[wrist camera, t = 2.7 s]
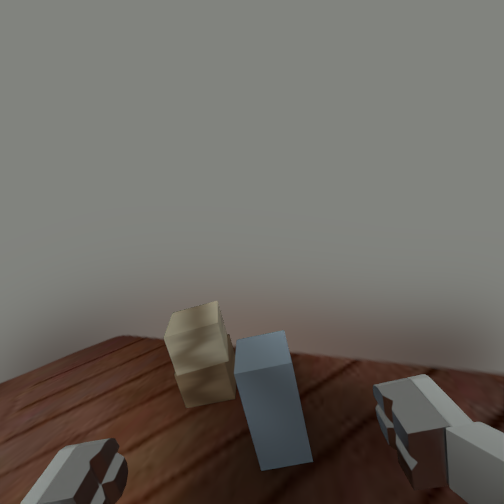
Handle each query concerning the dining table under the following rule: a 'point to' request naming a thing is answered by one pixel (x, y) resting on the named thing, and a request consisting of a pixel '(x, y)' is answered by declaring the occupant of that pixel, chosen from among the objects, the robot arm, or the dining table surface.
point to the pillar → (271, 400)
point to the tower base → (209, 382)
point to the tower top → (197, 338)
